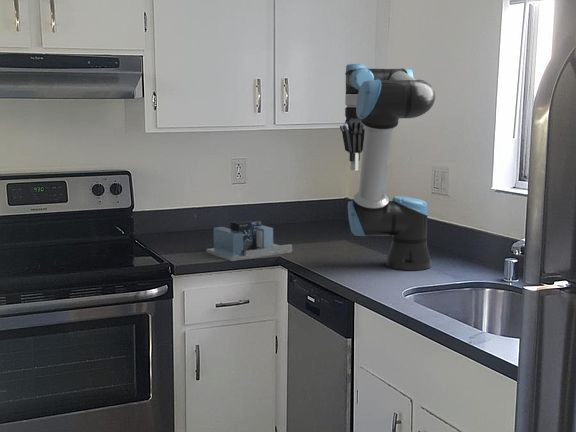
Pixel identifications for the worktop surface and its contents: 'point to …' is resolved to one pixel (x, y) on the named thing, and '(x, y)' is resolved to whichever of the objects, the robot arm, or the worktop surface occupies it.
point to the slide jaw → (263, 236)
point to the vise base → (254, 252)
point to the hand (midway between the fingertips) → (354, 170)
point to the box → (246, 233)
